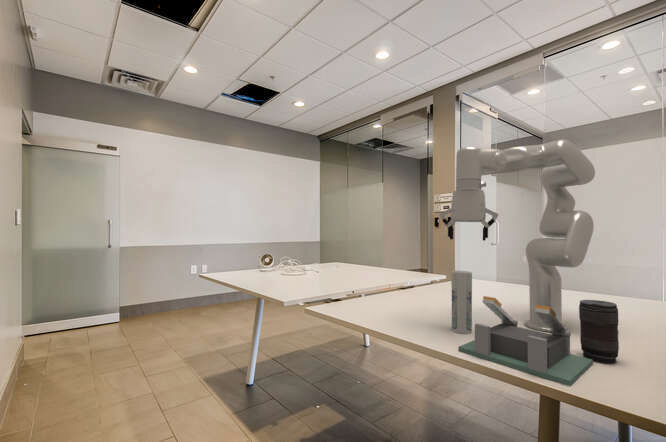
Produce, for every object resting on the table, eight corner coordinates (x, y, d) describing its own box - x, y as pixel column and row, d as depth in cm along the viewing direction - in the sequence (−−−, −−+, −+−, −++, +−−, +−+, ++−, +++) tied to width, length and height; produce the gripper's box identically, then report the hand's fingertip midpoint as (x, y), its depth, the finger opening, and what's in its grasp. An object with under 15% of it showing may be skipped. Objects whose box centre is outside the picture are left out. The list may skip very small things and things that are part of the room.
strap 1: (501, 320, 96) (503, 315, 97) (513, 323, 94) (514, 317, 95) (482, 302, 89) (483, 296, 90) (493, 304, 86) (495, 297, 87)
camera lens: (580, 350, 91) (579, 297, 92) (618, 358, 86) (617, 302, 86) (579, 359, 85) (578, 302, 85) (620, 367, 80) (619, 307, 80)
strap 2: (552, 331, 86) (553, 324, 87) (566, 334, 84) (567, 327, 85) (534, 311, 79) (535, 304, 79) (549, 314, 76) (550, 307, 77)
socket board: (489, 337, 102) (489, 310, 102) (592, 364, 82) (592, 330, 82) (458, 350, 90) (458, 320, 90) (569, 386, 70) (569, 346, 70)
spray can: (451, 327, 112) (451, 270, 113) (471, 329, 110) (471, 271, 111) (451, 332, 106) (451, 272, 107) (472, 335, 104) (472, 273, 105)
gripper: (498, 187, 102) (497, 241, 101) (442, 189, 110) (441, 239, 109) (498, 183, 95) (498, 241, 95) (438, 185, 103) (437, 238, 103)
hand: (467, 239), depth 102 cm, fingers open, 9 cm apart
